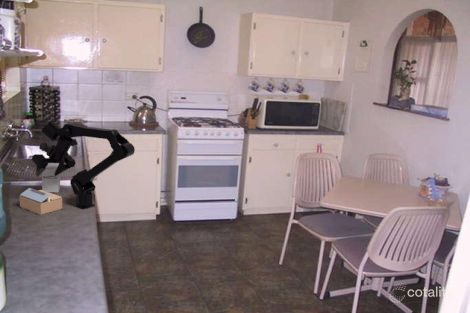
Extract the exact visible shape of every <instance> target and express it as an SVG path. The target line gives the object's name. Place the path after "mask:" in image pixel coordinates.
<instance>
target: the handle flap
mask: <svg viewBox="0 0 470 313" xmlns="http://www.w3.org/2000/svg"><path fill="white" fill-rule="evenodd" d="M19 196H24V197H26V198H29V199H32V200H35V201H37V202H40V203H41V202H43V201H44V200H45V199H47V198H48V197H49V196H50V195H48V194H46V193H43V192H40V191H38V190H37V189H35V188H31V187H28V188H27V189H26V190H24V191H23V192H21V193H20V194H19Z"/></svg>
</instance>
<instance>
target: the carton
mask: <svg viewBox="0 0 470 313" xmlns="http://www.w3.org/2000/svg"><path fill="white" fill-rule="evenodd" d="M38 191H40V192H43V193H46V194H48V195H50V196H49V197H48V198H47V199H45V200H44V201H43V202H41V203H40V202H37V201H35V200H32V199H29V198H26V197H24V196H21V195H19V208H20V207H21V209H22V208H24V209H23V210H25V209H26V210H25V211H27V210H29V211H28V212H30V211H32V212H31V213H33V212H35V213H38V214H45V213H49V212H52V213H54V212H53V211H56V212H58V211H57V210H59V211H61V210H60V209H62V210H63V198H62V196H60V195H58V194H54V193H53V192H46V191H43V190H42V189H39V190H38ZM35 213H34V214H35ZM38 214H37V215H38ZM49 214H50V213H49ZM45 215H46V214H45Z"/></svg>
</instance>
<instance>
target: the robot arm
mask: <svg viewBox="0 0 470 313" xmlns="http://www.w3.org/2000/svg"><path fill="white" fill-rule="evenodd" d="M41 134H42V135H43V136H45V137H46V138H47V139H48V140H50V141H51V142H54V141H55V142H56V143H55V144H54V143H46V142H45V141H44V142H43V141H42V142H41V143H40V144H39V150H40V151H41V152H44V153H45V154H46V156H47V157H45V155H44V154H36V153H35V154H33V155H32V157H31V160H32V162H33V163H34V164H35V165H36V172H35V175H36V177H39V176H40V175H42V172H43V171H44V170H45V169H46V166H47V165H48V163H59V165H58V167H57V169H56V171H55V173H54V175H55V176H57V175H58V174H60V175H61V174H62V173H63V172H65V171H68V170H69V169H71V168H74V167H75V165H76V160H75V159H74V158H73V157H72V156H71V155H70V153H69V150H70V149H71V147H75V146H78V145H79V144H78V141H77V138H79V137H86V138H87V137H88V138H95V139H103V140H107V141H108V143H109V146H110V148H111V149H112V151H111V152H110V154H109V155H108V156H107V157H106V158H104V159H103V160H102V161H100V162H99V163H97V164H96V165H94V166H93V167H91V168H90V169H89V170H88V169H87V168H85V169H82V170H79V171H78V172H76V174H74V175H73V176H71V179H70V180H69V181H70V183H69V184H70V187H71V189H72V192H73V194H74V195H76V199H75V202H76V203H75V204H73V207H76V208H79V209H82V210H85V208H86V209H89V208H92V207H94V206H96V204H95V203H93V191H95V190H96V188H97V186H96V185H95V184H94V183H93V181H94V180H95V178H96V177H98V176H99V175H101V174H102V173H103V172H105V171H107V169H109V168H111V167H112V166H113V165H115V164H117V162H119V161H122V160H124V159H126V158H129V157H130V156H133V155H134V154H135V145H133V143H131V142H129V140H128V139H127V138H126V137H124V136H123V135H122V134H121V133H120V132H119V131H118V130H117V129H111V128H110V129H109V128H99V127H91V126H87V125H84V124H83V123H79V122H70V123H66V124H64V125H63V126H62V127H60V126H58V125H57V124H56V123H55V122H54V121H49V122H48V123H47V124H46V125H45V126H43V127H42V129H41Z"/></svg>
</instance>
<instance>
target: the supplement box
mask: <svg viewBox="0 0 470 313" xmlns="http://www.w3.org/2000/svg"><path fill="white" fill-rule="evenodd" d="M58 165H59V163H48V165H47V166H46V169H45V170H44V171H43V172H42V173H41V188H42V189H41V190H43V191H46V192H49V193H59V192H60V188H61V173H60V174H58V175H57V176H55V175H54V173H55V171H56V169H57V167H58Z"/></svg>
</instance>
